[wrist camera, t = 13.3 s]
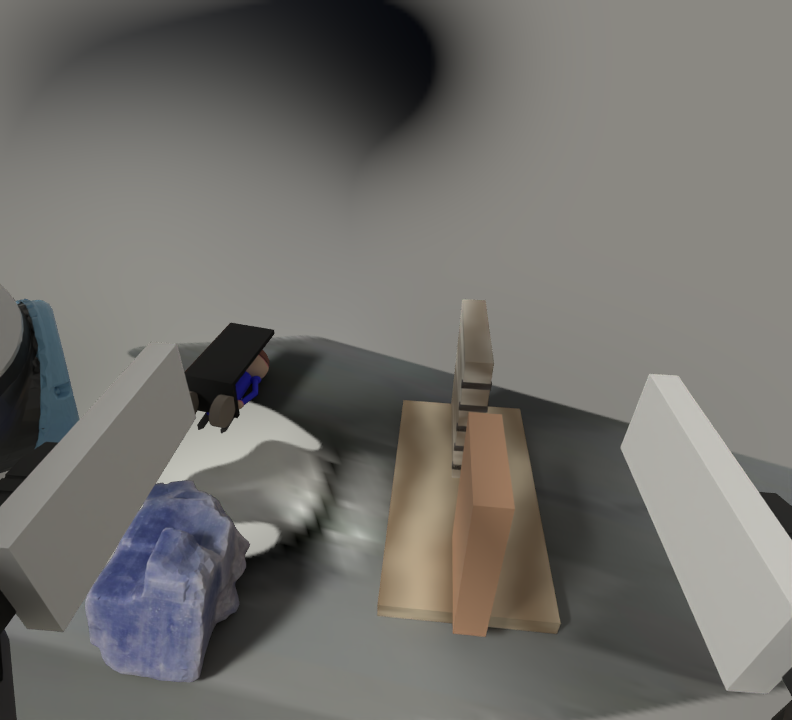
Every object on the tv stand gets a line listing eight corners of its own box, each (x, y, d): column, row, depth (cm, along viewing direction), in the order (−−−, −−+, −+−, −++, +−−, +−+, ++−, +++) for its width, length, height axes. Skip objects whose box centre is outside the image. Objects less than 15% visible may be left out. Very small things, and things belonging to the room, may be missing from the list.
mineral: (218, 596, 31) (44, 598, 30) (230, 689, 35) (77, 693, 34) (259, 451, 44) (139, 449, 43) (263, 532, 48) (154, 532, 47)
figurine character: (234, 455, 56) (283, 369, 67) (219, 407, 51) (275, 323, 63) (179, 446, 57) (237, 363, 68) (159, 398, 52) (225, 317, 64)
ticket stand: (377, 615, 39) (378, 478, 31) (403, 409, 61) (407, 295, 52) (556, 633, 38) (608, 497, 30) (517, 418, 60) (541, 303, 52)
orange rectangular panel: (452, 633, 36) (473, 505, 29) (452, 535, 44) (468, 411, 36) (485, 636, 36) (515, 508, 29) (479, 537, 43) (501, 414, 36)
